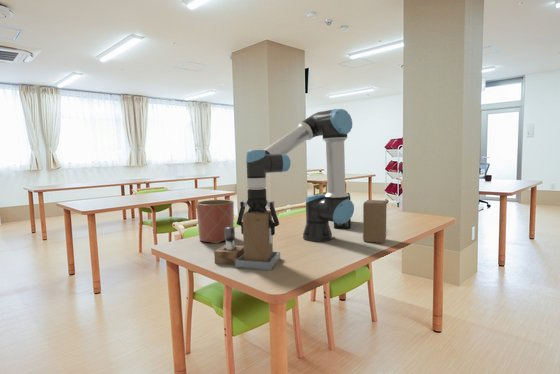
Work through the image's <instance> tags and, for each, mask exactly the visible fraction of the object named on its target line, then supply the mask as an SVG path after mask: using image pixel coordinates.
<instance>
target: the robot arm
mask: <svg viewBox="0 0 560 374" xmlns="http://www.w3.org/2000/svg"><path fill="white" fill-rule="evenodd" d="M352 128H353V119H352V117H351V115H350V113H349V111H347V110H346V109H343V108H334V109H329V110H323V111H317V112H316V113H314V114H312V115H310V116H309V117H308V116H307V118H306V119H304V120H302V121H300V122H299V123H298V125H297V127H295V128H294V129H293V130H291V131H289V132H288V133H287V134H285V135H284V136H282V137H280V138H279V139H277V140H276V141H275V142H273V143H272V144H270V145H268V146H267V147H266V148H264V149H249V150H247V151H246V158H245V159H246V160H245V162H246V182H247V183H246V184H247V185H246V187H247V201H245V200H243V201H239V202H240V203H239V205H240V209H239V212H238V216H237V220H236V225H237V226H240V227H241V229H240V231H241V233H240V234H241V235H243V214H244V213H245V211H246V207H247V206H248V207H249V208H248V210H247V212H252V211H254V212H255V211H258V212H262V213H266V212H267V210H268V209H267V208H266V206H268V207H269V210H270V211H271V214H272V219H271V217H269V225H270V227H269V244H271V243H274V241H273V240H274V239H273V236H275V234H276V228H275V227H278V226H279V225H280V221H279V219H278V215H277V211H276V208H275V201H274V200H273V201H272V200H271V201H268V200H267V174H269V173H271V174H272V173H283V172H288V171H289V170H290V168H291V159H290V157H289V155H287V154H288V153H290V152H292V151H293V150H294V149H295V148H297V147H299V146H300V145H302V144H303V143H304V142H305V141H310V140H311V139H313V138H316V137H321V136H322V140H323V141H324V143H325V151H326V153H325V156H326V158H325V159H326V183H327V185H326V186H327V187H326V188H327V189H326V190H327V191H326V193H321V194H320V193H319V194H311V195H310V194H309V195H307V196H306V198H305V221H306V223H305V227H304V230H303V233H302V238H303V239H304V240H306V241H308V242H309V241H310V242H326V241H330V240H332V239H333V232H332V230H331V226H330V224H329V223H330V222H333V223H334V222H335V223H346V222H348V221H349V220H350V218H351V219H352V217H353V215H354V212H355V205H354V203H353V201H352V200H351V199H350V200H349V195H348V194H347V193H348V192H346V164H345V160H346V159H345V141H346V140H347V139H348V134H349V133H350V132H351V130H352Z"/></svg>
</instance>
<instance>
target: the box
mask: <svg viewBox="0 0 560 374" xmlns="http://www.w3.org/2000/svg"><path fill="white" fill-rule="evenodd" d="M346 193H347V194H348V195H349V200H350V201H351V194H350V192H346ZM351 219H352V217H351V218H350V220H349V221H348V222H346V223H335V222H333V228H334V229H351V228H352V226H351V225H352V224H351V223H352V220H351Z"/></svg>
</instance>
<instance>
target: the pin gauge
mask: <svg viewBox="0 0 560 374" xmlns="http://www.w3.org/2000/svg"><path fill="white" fill-rule="evenodd" d="M235 228H236V227H235V226H234V227H225V228H224V229H225V245H226V250H232V251H234V245H235V240H236V235H235V234H236V232H235V231H236V230H235Z"/></svg>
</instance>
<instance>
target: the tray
mask: <svg viewBox="0 0 560 374" xmlns="http://www.w3.org/2000/svg"><path fill="white" fill-rule="evenodd" d="M280 260H281V251H273V256H272V257H271V259H270V260H269V262H260V261H245V260H244V254H242V255H241V256H240V257H239V258H238V259H236V260H235V264H234V267H235V268H236V269H244V270H246V269H247V270H261V271H272V270H273V269H274V267H275V266H276V265H277V263H278V262H279V261H280Z"/></svg>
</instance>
